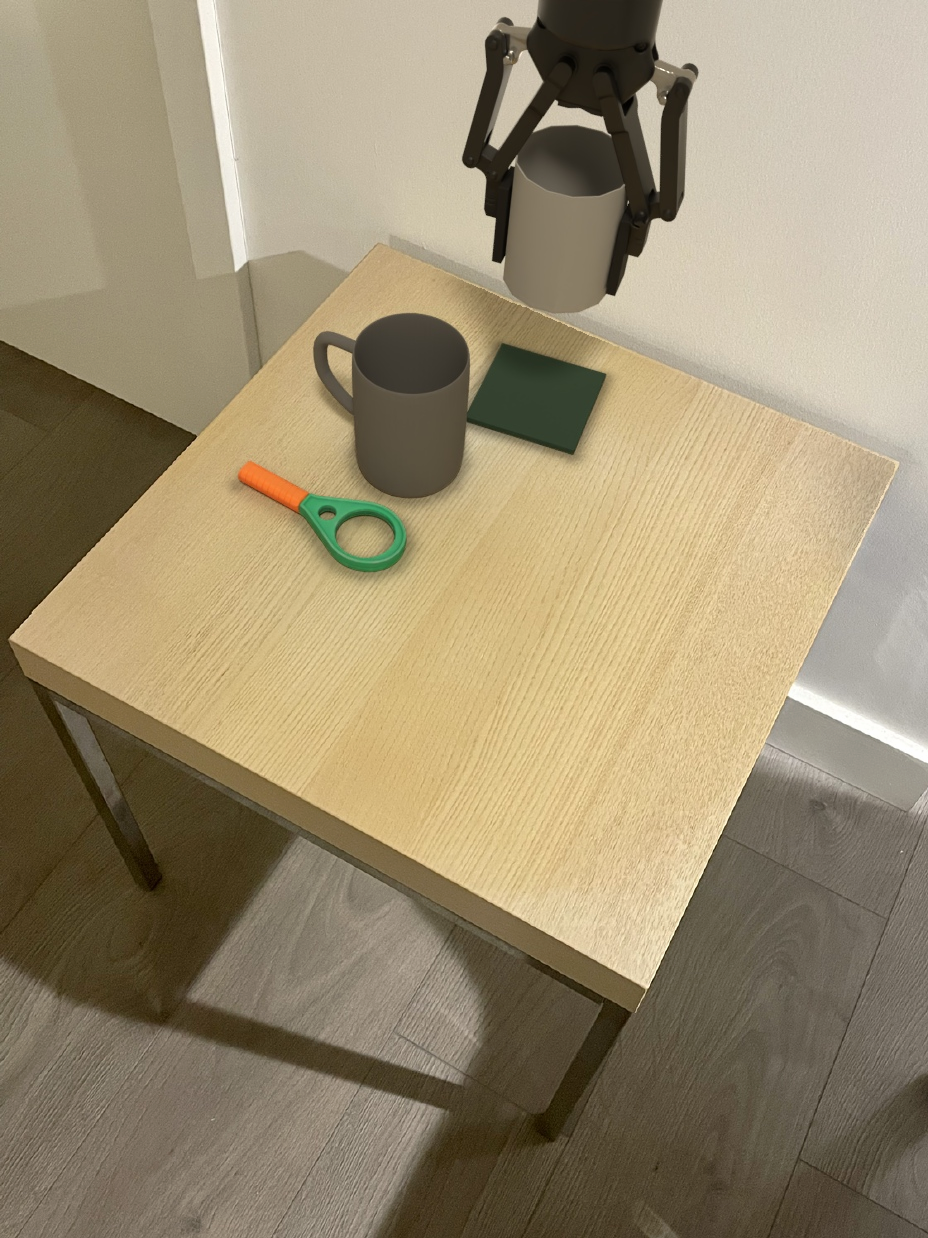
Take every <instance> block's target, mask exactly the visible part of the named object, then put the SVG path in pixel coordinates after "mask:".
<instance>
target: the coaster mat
mask: <svg viewBox="0 0 928 1238" xmlns="http://www.w3.org/2000/svg"><path fill="white" fill-rule="evenodd" d="M606 377H607V373H605V372H602V371H599V370H596V369H592V368H589V367H586V366H582V365H578V364H575V363H572V362H568V361H565V360H561V359H557V358H555V357H551V356H548V355H544V354H541V353H538V352H535V351H533V350H528V349H524V348H521V347H518V346H515V345H511V344H508V343H505V342H501V344H500V346H499V348H498V351H497V352H496V353H495V357H494V358H493V360H492V362H491V364H490V366H489V368H488V370H487V372H486V374H485V376H484V378H483V380H482V382H481V383H480V386H479V388H478V390H477V392H476V393H475V396H474V397H473V400H472V401H471V403H470V406H468V410H467V422H466V423H469V424H473V425H475V426H479V427H483V428H484V429H489V430H492V431H495V432H498V433H501V434H504V435H508V436H511V437H514V438H518V439H521V440H523V441H528V442H530V443H533V444H537V445H540V446H543V447H546V448H550V449H552V450H556V451H560V452H563V453H566V454H570V455H572V456H573V455H574V454H575V452H576V450H577V448H578V445H579V442H580V441H581V438H582V436H583V433H584V430H585V428H586V426H587V424H588V421H589V419H590V417H591V414H592V411H593V409H594V407H595V404H596V402H597V400H598V397H599V394H600V393H601V390H602V387H603V385H604V383H605V381H606Z"/></svg>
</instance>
